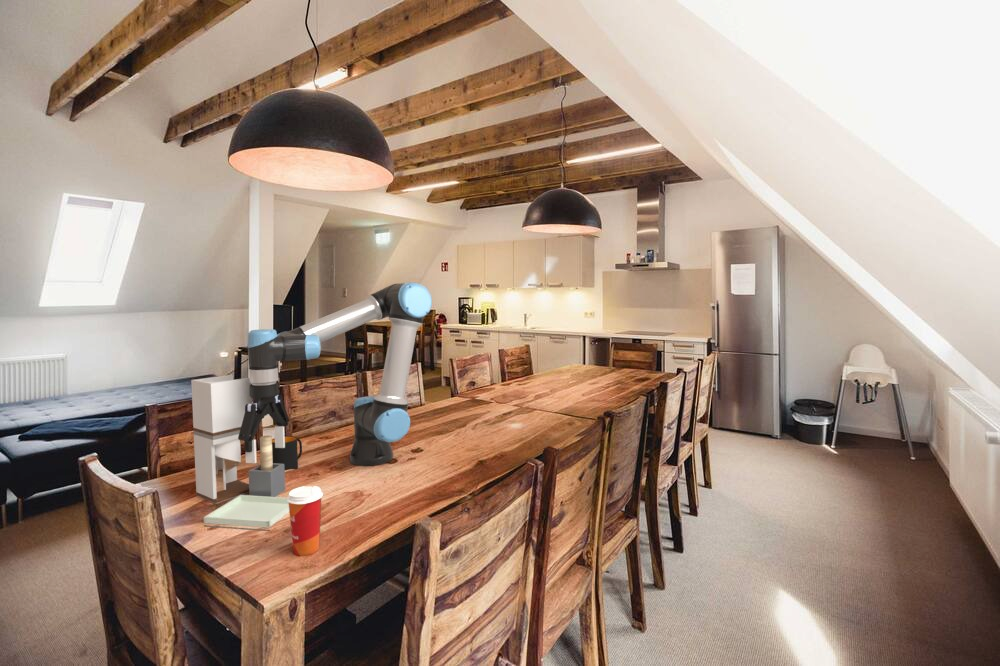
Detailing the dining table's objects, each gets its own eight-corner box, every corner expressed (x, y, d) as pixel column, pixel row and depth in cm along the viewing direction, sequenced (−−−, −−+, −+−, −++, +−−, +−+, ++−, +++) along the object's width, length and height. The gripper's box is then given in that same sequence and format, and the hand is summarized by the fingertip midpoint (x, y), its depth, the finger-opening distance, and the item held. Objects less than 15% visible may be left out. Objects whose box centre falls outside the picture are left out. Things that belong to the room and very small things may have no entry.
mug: (311, 463, 168) (310, 434, 168) (284, 474, 157) (283, 444, 156) (292, 460, 171) (292, 432, 171) (265, 471, 160) (264, 441, 159)
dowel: (276, 491, 141) (274, 435, 140) (269, 496, 138) (267, 438, 136) (266, 491, 141) (264, 435, 140) (259, 495, 138) (257, 438, 137)
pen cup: (285, 493, 142) (284, 463, 142) (271, 502, 136) (270, 472, 135) (264, 491, 143) (263, 462, 143) (249, 501, 137) (248, 470, 136)
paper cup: (295, 542, 114) (293, 485, 113) (328, 540, 114) (326, 484, 113) (283, 559, 106) (281, 499, 105) (318, 558, 107) (316, 497, 106)
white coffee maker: (216, 507, 133) (210, 383, 130) (196, 498, 138) (191, 380, 136) (255, 493, 142) (251, 377, 140) (235, 485, 148) (231, 374, 145)
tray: (299, 507, 133) (299, 498, 133) (269, 531, 119) (268, 521, 119) (240, 503, 135) (240, 494, 135) (203, 526, 121) (203, 517, 121)
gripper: (277, 375, 150) (279, 441, 151) (221, 390, 125) (224, 469, 127) (299, 376, 149) (301, 442, 150) (247, 391, 124) (250, 470, 126)
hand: (266, 454), depth 139 cm, fingers open, 13 cm apart
